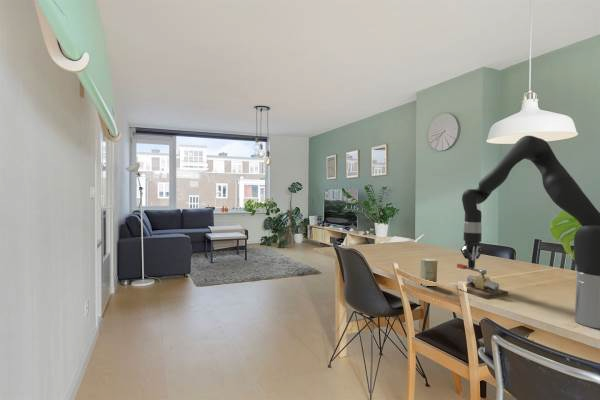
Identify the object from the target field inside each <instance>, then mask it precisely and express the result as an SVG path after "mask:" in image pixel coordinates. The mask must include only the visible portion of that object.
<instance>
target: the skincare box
mask: <svg viewBox="0 0 600 400" xmlns="http://www.w3.org/2000/svg"><path fill="white" fill-rule="evenodd" d="M419 274H420V276H419V279H420V278H422V279H425V280H429V281H433V282H437V280H438V279H437V278H438V260H437V259H433V258H420V273H419ZM421 286H422V287H425V288H428V287H427V286H425V285H421Z"/></svg>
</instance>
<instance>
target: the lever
mask: <svg viewBox="0 0 600 400" xmlns="http://www.w3.org/2000/svg"><path fill="white" fill-rule="evenodd" d="M456 268H458V269H463V270H470V271H474V272H478V273H479V274H480V275H481V274H484V275H487V270H485V269H477V268H470V267H468V264H463V263H457V264H456Z"/></svg>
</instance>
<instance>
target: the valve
mask: <svg viewBox="0 0 600 400" xmlns="http://www.w3.org/2000/svg"><path fill="white" fill-rule="evenodd" d="M466 281H467V284H466V285H467V286H469V287H476V288H479V289H482V290H485V289H488V293H491V294H495V293H498V289H500V284H499V283H498V282H496V281H492V280H491V277H487V276H485V274H480V275H475V276H473V275H471V274H470V275H468V276H467V277H466Z"/></svg>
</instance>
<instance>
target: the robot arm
mask: <svg viewBox="0 0 600 400" xmlns="http://www.w3.org/2000/svg"><path fill="white" fill-rule="evenodd" d="M523 160H529V161H530V162H531V163H533V165H534V166H535V167H536V168H537V170H538V171H539V173H540V175H541V178H542V179H541V181H542V185H543V189H544V191H545V192H546V193H547V195H548V196H549V197H550V199H551V200H552V202H553V203H554V204H555V205H556V206H558V207H559V208H560V209H562V211H564V212H566V213H567V214H568V215H570V216H571V217H573V218H574V219H575V220H576V221H577V222H578V223H579V224H580V226H581V227H578V229H577V230H576V231H575V233H574V237H573V260H574V263H575V266H576V278H575V279H576V282H575V284H576V285H575V304H574V305H575V307H574V309H575V310H574V321H575V323H578V324H580V325H583V326H585V327H588V328H589V327H590V328H593V329H599V330H600V211H599V210H598V209H597V208H596V206H595V205H594V204H593V202H591V200H590V199H589V198H588V196H587V194H585V192H584V191H583V190H582V188H581V187H580V186H579V184H578V183H577V182H576V180H575V179H574V178H573V177H572V176H571V174H570V173H569V172H568V171H567V169H566V168H565V167H564V166H563V164H561V162H560V161H559V160H558V158H557V156H556V155H555V152H553V149H552V148H551V146H550V145H549V143H548V141H546V140H544V139H543V138H541V137H537V136H533V135H524V136H523V137H521V138H519V139H518V140H517V141H516V142H515V143H513V145H512V146H511V148H510V149H509V150H508V152H507V153H506V154H505V155H504V157H503V158H502V159H501V160H500V161H499V162H498V163H497V165H496V166H495V167H494V168H493V169H492V170H491V171H489V172H488V173H487V174H486V175H485V176H484V177H483V178H481V180H479V182H478V187H477V188H475V189H474V188H473V189H472V188H470V189H469V188H468V189H466V190H464V191H463V193H462V197H461V202H462V205H463V206H462V207H463V211H464V223H463V224H464V225H463V239H462V240H463V242H464V247H463V248H460V251H461V254H462V255H463V257H464V259H465V260H468V261H467V262H468V263H467V267H470V268H474V269H476V268H475V267H476V260H477V259H479V258H480V257H481V254H482V253H483V251H484V248H483V247H481V244H480V243H481V242H482V235H483V234H482V232H483V230H482V229H483V227H482V226H483V225H482V211H481V210H480V209H478V205H480V204H482V203H484V202H485V201H486V200H487V199H488V198H489V197H490V195H491V194H492V193H493V191H495V190H496V189H498V188H499V187H500V186H502V184H503V183H504V182H505V181H506V180H507V178H508V176H509V174H510V172H511V171H512V169H513V168H514V167H515V166H516V165H517V164H518V163H520V162H521V161H523Z"/></svg>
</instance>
